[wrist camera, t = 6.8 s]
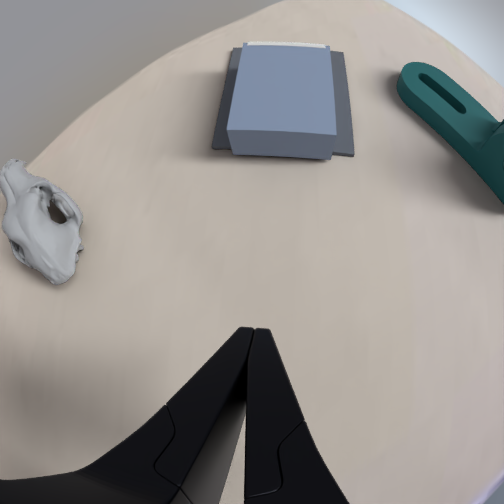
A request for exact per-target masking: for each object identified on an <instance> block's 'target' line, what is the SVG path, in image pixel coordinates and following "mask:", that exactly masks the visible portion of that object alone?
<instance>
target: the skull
mask: <svg viewBox="0 0 504 504" xmlns="http://www.w3.org/2000/svg"><path fill="white" fill-rule="evenodd" d="M15 161H16V159H15V158H14V159H12V160H9V161H8V162H7V163H6V164H5V165H4V166H3V168H2V170H1V171H0V188H1V190H2V193H3V195H4V196H5V198H6V201H7V209H6V212H5V214H4V219H3V221H2V229H3V231H4V233H5V234H6V235H7V236H8V238H9V242H10V243H11V248H12V251H13V253H14V255H15V257H16V258H17V259H18V260H19V261H20V262H21V263H23V264H25V265H27V266H28V267H30V268H35V269H36V270H38V271H40V272H41V273H42V274H43V276H44V277H46V278H47V279H48V280H49V281H50V282H51V283H52V284H55V285H58V284H61V283H65V282H66V281H68V279H69V278H70V277H71V276H72V275H73V274H74V272H75V268H76V265H75V263H76V262H77V261H78V260H79V256H78V254H77V252H78V250H82V249H84V246H83V245H81V244H80V243H81V241H82V239H81V238H80V236H79V228H80V225H81V223H82V222H83V220H82V219H83V215H82V212H81V210H80V208H79V207H78V205H77V204H76V203H75V202H74V201H73V200H72V198H71V197H70V196H69V195H68V194H67V193H66V192H64V191H63V190H62V189H60V188H59V187H57V186H55V185H54V184H52V183H51V182H49V181H48V180H47V179H46V178H41V177H38V176H33V175H32V174H30V173H28V172H27V170H26V169H25V168H24V166H23V165H24V164H26V162H25V161H19V159H17V161H16V162H15ZM49 201H52V202H53V203H54V204H55V205H56V207H57V208H59V209H60V211H61V212H62V213H63V214H64V216H65V217H66V220H67V221H66V222H65V223H63V224H59V223H56V222H54V221H52V219H51V217H50V214H49V212H48V208H47V206H49V207H50V202H49Z"/></svg>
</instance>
